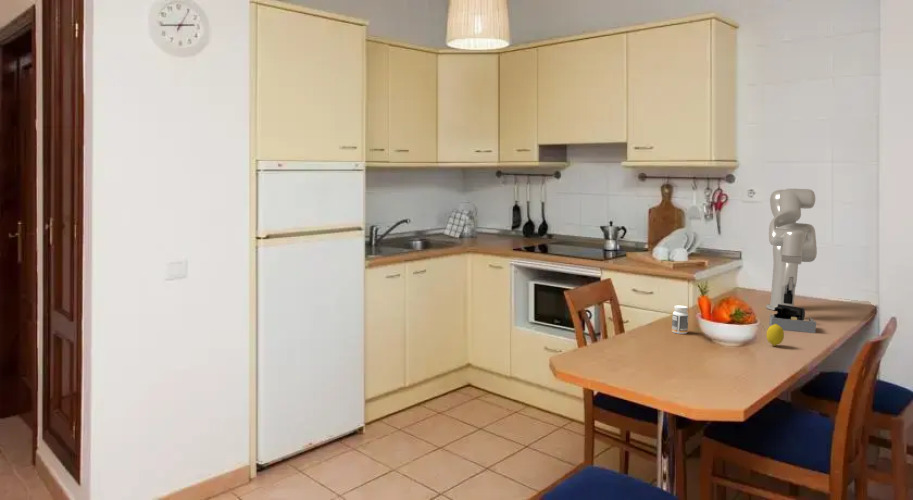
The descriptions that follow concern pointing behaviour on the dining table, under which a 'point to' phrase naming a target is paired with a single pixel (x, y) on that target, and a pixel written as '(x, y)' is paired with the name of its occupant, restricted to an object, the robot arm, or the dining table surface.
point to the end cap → (789, 312)
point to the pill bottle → (680, 320)
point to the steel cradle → (794, 324)
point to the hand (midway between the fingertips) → (787, 303)
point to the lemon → (775, 334)
